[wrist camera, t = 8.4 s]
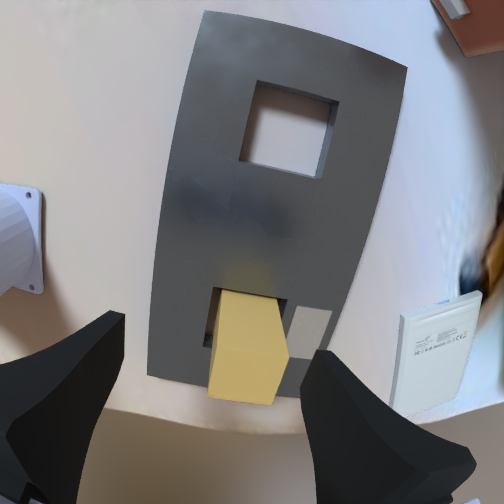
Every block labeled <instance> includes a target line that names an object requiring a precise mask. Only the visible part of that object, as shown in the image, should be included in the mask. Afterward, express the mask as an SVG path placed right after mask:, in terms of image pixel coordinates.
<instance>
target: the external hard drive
mask: <svg viewBox="0 0 504 504" xmlns="http://www.w3.org/2000/svg"><path fill="white" fill-rule="evenodd" d="M481 299H482V293H481V292H480V291H478V290H477V291H474V292H471V293H468V294H465V295H462V296H458V297H455V298H452V299H449V301H448V302H446V303H442V304H439V305H438V304H432V305H429V306H425V307H422V308H418V309H415V310H411V311H407V312H404V313H401V314H400V325H399V336H398V346H397V355H396V363H395V371H394V378H393V385H392V391H391V397H390V403H389V407H390V408H392V409H393V410H394V411H396V412H397V413H398V414H400V415H401V416H403V417H404V418H405V417H408V416H410V415H413V414H416V413H419V412H421V411H424V410H427V409H429V408H432V407H434V406H437V405H439V404H442V403H444V402H446V401H449V400H451V399H453V398H455V397H456V396H457V394H458V391H459V388H460V385H461V382H462V379H463V375H464V372H465V369H466V365H467V362H468V358H469V354H470V350H471V346H472V342H473V338H474V334H475V330H476V325H477V320H478V315H479V310H480V305H481Z"/></svg>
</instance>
